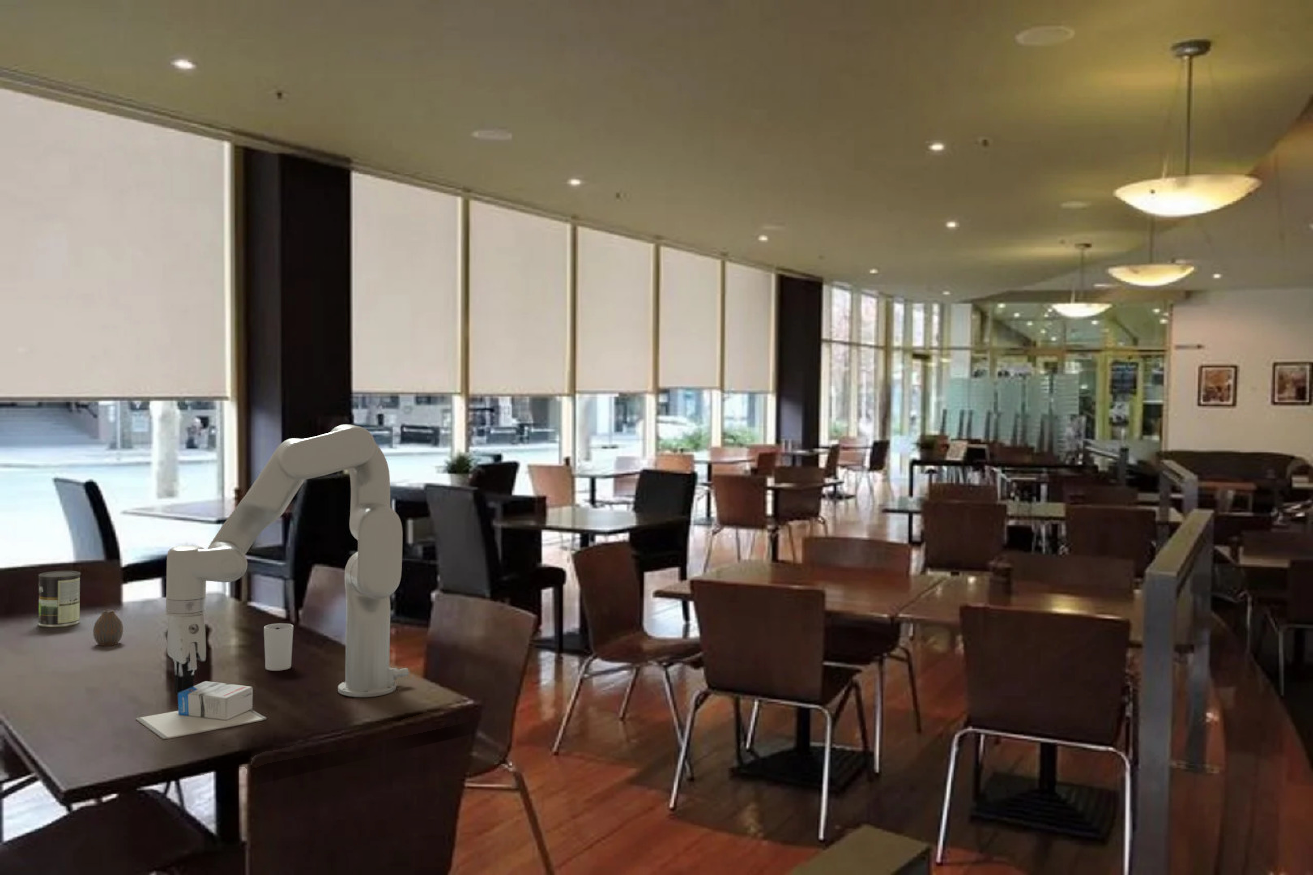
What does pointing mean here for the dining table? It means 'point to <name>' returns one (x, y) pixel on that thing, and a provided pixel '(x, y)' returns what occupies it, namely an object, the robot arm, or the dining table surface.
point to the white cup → (278, 646)
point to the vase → (108, 629)
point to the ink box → (215, 700)
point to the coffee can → (59, 598)
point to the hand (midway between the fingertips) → (183, 693)
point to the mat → (192, 723)
